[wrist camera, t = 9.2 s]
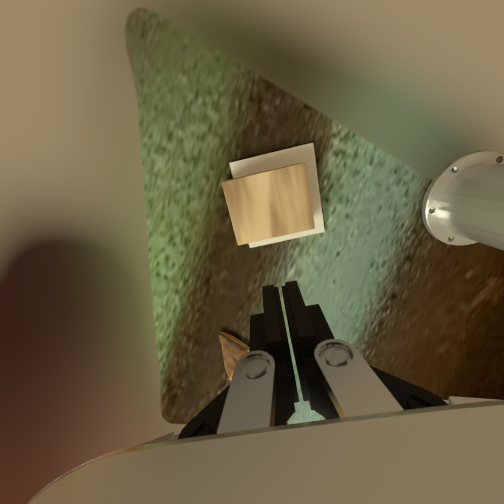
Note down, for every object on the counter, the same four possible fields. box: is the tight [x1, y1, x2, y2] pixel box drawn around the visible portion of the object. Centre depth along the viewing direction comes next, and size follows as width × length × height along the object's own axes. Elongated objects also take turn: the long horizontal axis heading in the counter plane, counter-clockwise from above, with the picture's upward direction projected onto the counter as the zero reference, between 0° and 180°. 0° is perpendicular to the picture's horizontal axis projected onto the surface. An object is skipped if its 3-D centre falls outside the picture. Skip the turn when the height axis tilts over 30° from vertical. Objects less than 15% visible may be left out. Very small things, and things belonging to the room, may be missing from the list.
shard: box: [219, 331, 249, 380], centre depth 42 cm, size 11×8×2 cm
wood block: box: [222, 163, 315, 245], centre depth 31 cm, size 4×8×10 cm
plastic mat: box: [230, 143, 325, 248], centre depth 33 cm, size 11×12×1 cm
